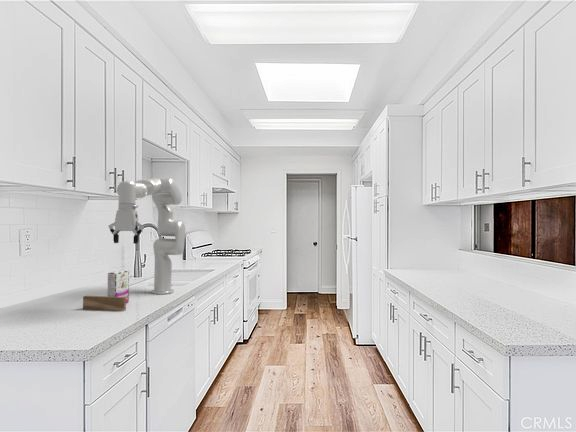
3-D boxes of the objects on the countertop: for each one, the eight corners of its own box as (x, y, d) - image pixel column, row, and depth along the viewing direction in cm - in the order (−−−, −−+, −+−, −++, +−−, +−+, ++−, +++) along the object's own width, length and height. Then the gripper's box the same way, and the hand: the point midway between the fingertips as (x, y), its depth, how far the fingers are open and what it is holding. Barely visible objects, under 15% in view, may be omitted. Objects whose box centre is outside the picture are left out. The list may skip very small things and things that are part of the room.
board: (85, 308, 193) (85, 295, 193) (125, 310, 191) (126, 297, 191) (82, 309, 191) (83, 296, 191) (123, 310, 189) (123, 297, 189)
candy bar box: (120, 301, 209) (121, 270, 209) (128, 302, 208) (129, 270, 208) (106, 306, 198) (107, 272, 198) (115, 306, 197) (116, 273, 197)
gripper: (147, 208, 197) (146, 243, 197) (113, 207, 199) (112, 242, 199) (140, 207, 190) (139, 244, 190) (105, 206, 191) (104, 243, 191)
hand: (125, 243), depth 194 cm, fingers open, 9 cm apart
